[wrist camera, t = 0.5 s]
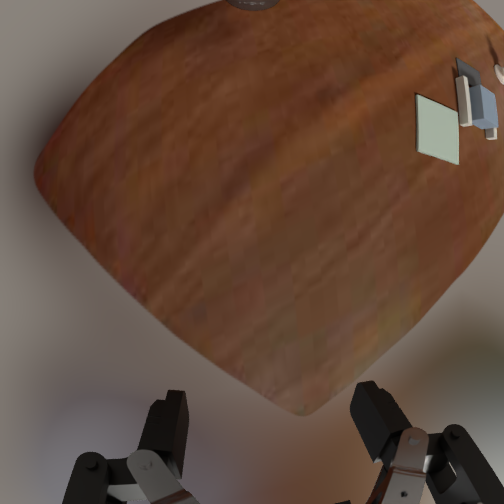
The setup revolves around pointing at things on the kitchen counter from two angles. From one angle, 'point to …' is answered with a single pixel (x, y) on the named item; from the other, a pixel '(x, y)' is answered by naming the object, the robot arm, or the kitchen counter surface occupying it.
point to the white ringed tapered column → (499, 73)
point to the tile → (437, 130)
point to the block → (483, 107)
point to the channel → (468, 95)
